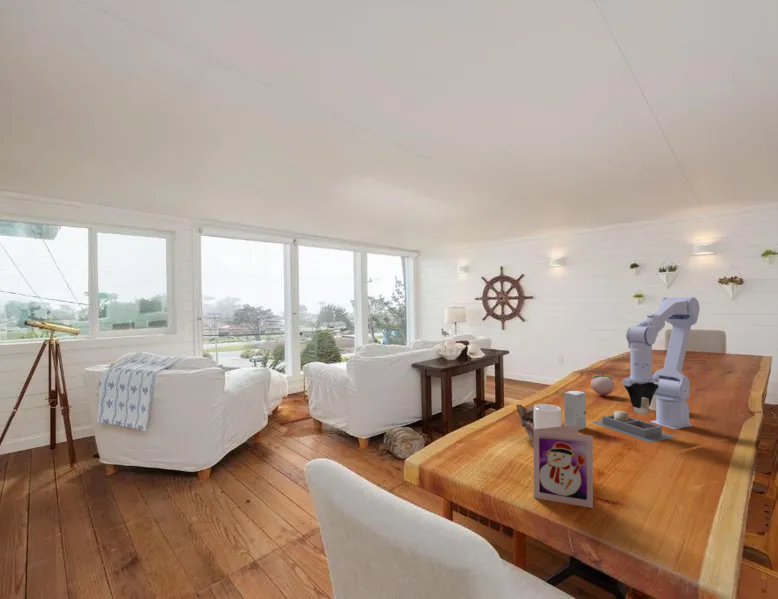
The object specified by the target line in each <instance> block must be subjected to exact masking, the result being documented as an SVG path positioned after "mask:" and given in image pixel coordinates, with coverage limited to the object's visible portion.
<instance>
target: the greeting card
mask: <svg viewBox="0 0 778 599" xmlns="http://www.w3.org/2000/svg"><path fill="white" fill-rule="evenodd" d="M593 442H594V441H593V435H588V434H587V435H586V434H579V430H578V425H570V426H565V425H564V426H563V425H562V426H561V427H551V428H541V429H534V446H533V499H538V500H543V501H544V500H545V501H550V502H556V503H562V504H567V505H572V506H579V507H584V508H585V507H586V508H591V509H593V508H594V487H593V486H594V484H593V483H594V479H593V478H594V474H593V473H594V465H593V464H594V461H593V460H594V458H593V456H594V455H593V450H594V449H593V447H594V446H593V445H594V444H593Z"/></svg>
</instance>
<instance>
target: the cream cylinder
mask: <svg viewBox="0 0 778 599" xmlns="http://www.w3.org/2000/svg"><path fill="white" fill-rule="evenodd" d="M633 412H634V413H635V414H638V415H644V416H645V415H646V416H647V415H649V414H650V409H649V399H648V398H644V397H642V401H641V407H640V408H636V407H633Z"/></svg>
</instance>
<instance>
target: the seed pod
mask: <svg viewBox="0 0 778 599" xmlns="http://www.w3.org/2000/svg"><path fill="white" fill-rule="evenodd" d="M515 405H516V408H517V409H516V411H517V413H518V416H519V421H520V426H521V427H523V428H524V430H525V433H527V435H528V437H529V440H530V441H531V444H532V445H533V447H534V406H535V405H536V404H535V405H529V406H528V407H526V406H523V405H522V404H515Z"/></svg>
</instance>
